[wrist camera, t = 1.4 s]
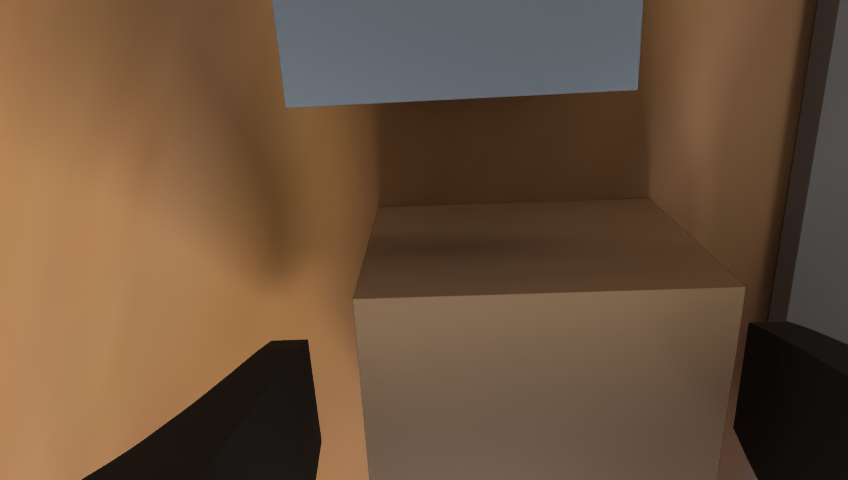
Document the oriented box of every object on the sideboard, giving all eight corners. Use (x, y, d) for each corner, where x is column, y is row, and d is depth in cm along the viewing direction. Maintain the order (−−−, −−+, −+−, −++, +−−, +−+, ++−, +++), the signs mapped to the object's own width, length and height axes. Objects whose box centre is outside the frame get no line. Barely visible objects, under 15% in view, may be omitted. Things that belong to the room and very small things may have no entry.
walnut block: (627, 419, 13) (700, 581, 10) (394, 425, 14) (379, 585, 10) (646, 195, 12) (746, 287, 8) (379, 205, 12) (352, 299, 8)
